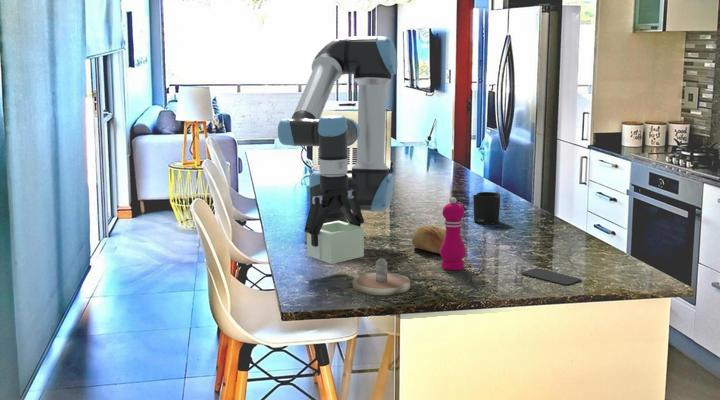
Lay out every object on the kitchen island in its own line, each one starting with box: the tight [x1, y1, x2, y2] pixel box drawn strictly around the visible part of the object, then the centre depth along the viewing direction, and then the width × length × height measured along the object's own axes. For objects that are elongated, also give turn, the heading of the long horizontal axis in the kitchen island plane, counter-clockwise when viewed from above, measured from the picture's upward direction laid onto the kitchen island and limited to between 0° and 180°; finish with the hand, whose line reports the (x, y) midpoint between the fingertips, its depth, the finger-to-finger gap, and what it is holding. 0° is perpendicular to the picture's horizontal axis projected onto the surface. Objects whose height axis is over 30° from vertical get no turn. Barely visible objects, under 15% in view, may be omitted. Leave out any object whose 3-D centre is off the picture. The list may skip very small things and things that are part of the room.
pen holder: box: [472, 191, 501, 225], centre depth 278 cm, size 9×9×10 cm
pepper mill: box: [439, 197, 466, 271], centre depth 220 cm, size 7×7×20 cm
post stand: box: [352, 258, 411, 296], centre depth 204 cm, size 15×15×8 cm
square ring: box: [306, 221, 365, 265], centre depth 214 cm, size 11×11×8 cm
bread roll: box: [411, 224, 446, 255], centre depth 239 cm, size 10×15×8 cm, turn 37°
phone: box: [521, 267, 582, 287], centre depth 211 cm, size 7×1×15 cm
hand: (335, 253), depth 214 cm, fingers closed on square ring, 11 cm apart
